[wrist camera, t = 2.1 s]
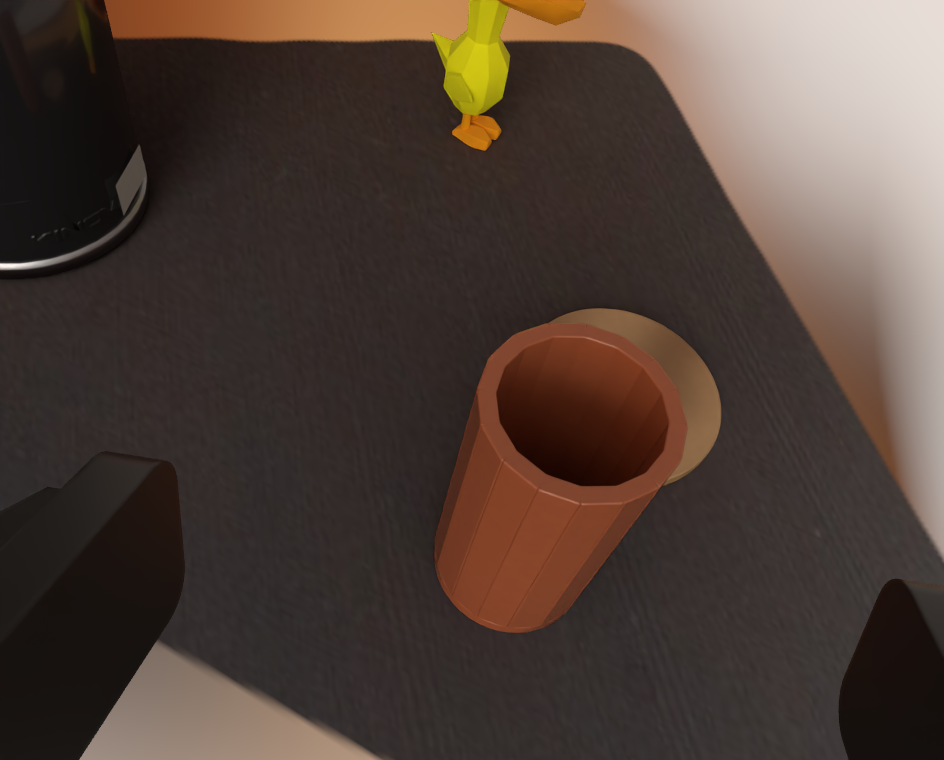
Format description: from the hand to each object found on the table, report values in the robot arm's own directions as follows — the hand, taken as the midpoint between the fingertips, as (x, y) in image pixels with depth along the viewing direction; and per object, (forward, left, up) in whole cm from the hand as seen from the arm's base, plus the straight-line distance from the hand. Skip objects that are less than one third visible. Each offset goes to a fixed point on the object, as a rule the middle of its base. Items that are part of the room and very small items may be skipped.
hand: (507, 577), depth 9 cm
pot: (-2, +8, -18) cm, 20 cm away
